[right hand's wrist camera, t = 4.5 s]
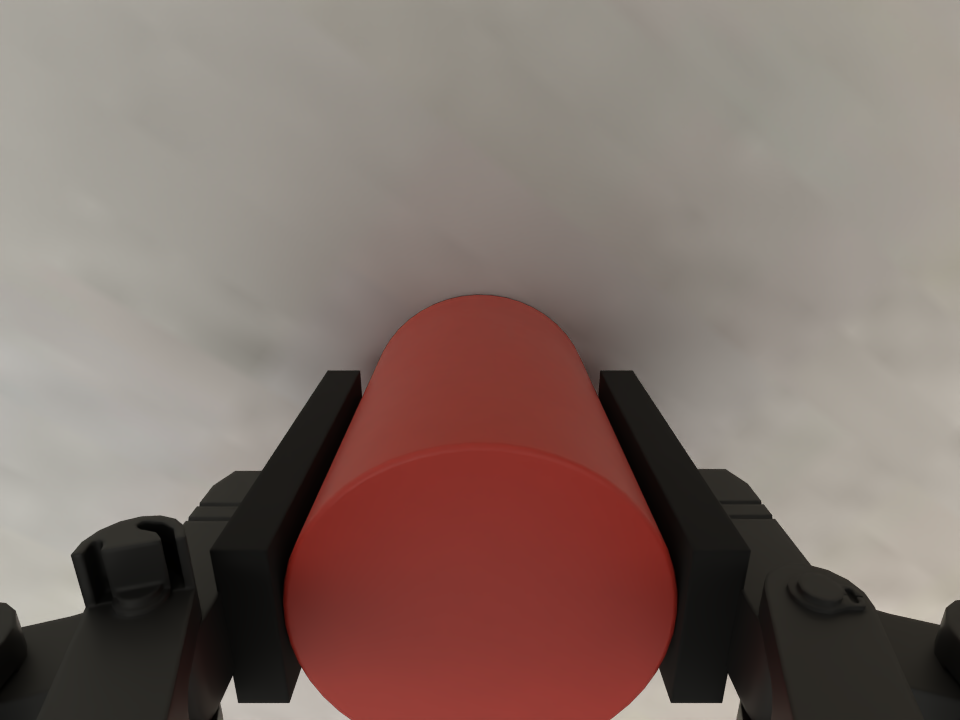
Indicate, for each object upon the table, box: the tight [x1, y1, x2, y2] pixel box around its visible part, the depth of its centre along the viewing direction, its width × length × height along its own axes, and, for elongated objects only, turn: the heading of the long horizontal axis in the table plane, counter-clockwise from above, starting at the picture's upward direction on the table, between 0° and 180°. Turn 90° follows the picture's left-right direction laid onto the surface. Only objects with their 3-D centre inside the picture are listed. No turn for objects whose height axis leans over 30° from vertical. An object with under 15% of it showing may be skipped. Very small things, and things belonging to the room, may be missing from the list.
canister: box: [283, 295, 678, 720], centre depth 12 cm, size 6×6×8 cm
